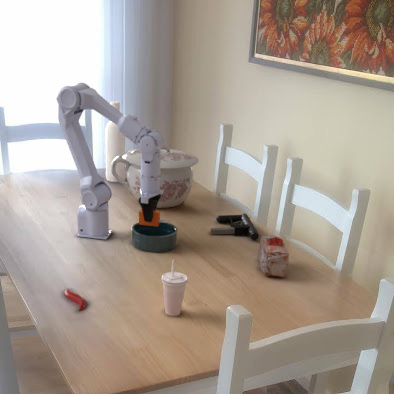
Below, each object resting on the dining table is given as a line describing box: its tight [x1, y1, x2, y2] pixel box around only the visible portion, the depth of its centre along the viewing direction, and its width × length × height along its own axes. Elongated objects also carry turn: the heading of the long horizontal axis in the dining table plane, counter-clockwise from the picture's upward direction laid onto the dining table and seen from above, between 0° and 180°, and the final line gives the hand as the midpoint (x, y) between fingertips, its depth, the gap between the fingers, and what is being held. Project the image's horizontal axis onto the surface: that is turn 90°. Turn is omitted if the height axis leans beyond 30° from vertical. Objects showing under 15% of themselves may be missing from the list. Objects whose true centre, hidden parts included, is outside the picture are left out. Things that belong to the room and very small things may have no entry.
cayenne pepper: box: [64, 288, 87, 312], centre depth 144 cm, size 12×5×2 cm, turn 18°
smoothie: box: [160, 259, 189, 317], centre depth 139 cm, size 6×6×14 cm
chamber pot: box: [111, 145, 199, 209], centre depth 210 cm, size 28×28×21 cm
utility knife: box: [138, 208, 170, 227], centre depth 175 cm, size 9×3×4 cm, turn 81°
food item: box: [257, 234, 290, 278], centre depth 167 cm, size 14×8×10 cm, turn 5°
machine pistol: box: [210, 212, 260, 241], centre depth 194 cm, size 3×20×16 cm
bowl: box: [130, 221, 179, 253], centre depth 179 cm, size 14×14×5 cm
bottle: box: [104, 100, 126, 183], centre depth 229 cm, size 8×8×30 cm
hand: (149, 219), depth 176 cm, fingers closed on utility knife, 3 cm apart
